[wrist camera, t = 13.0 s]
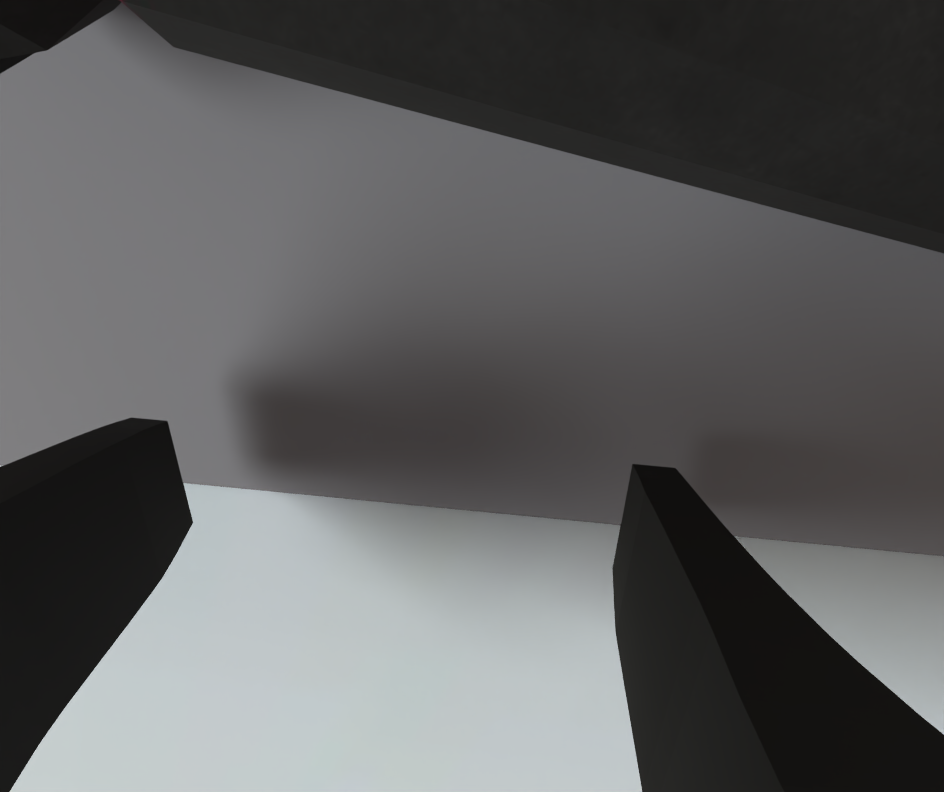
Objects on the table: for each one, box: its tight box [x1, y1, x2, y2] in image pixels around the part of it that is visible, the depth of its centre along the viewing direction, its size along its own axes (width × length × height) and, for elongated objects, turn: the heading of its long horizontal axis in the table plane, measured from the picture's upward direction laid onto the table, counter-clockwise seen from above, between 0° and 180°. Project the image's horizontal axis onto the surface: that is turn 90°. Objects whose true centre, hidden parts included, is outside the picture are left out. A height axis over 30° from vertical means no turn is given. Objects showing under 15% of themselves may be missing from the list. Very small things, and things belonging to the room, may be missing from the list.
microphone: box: [0, 0, 944, 253], centre depth 6 cm, size 6×6×20 cm
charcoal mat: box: [0, 2, 944, 556], centre depth 8 cm, size 14×26×1 cm, turn 88°
